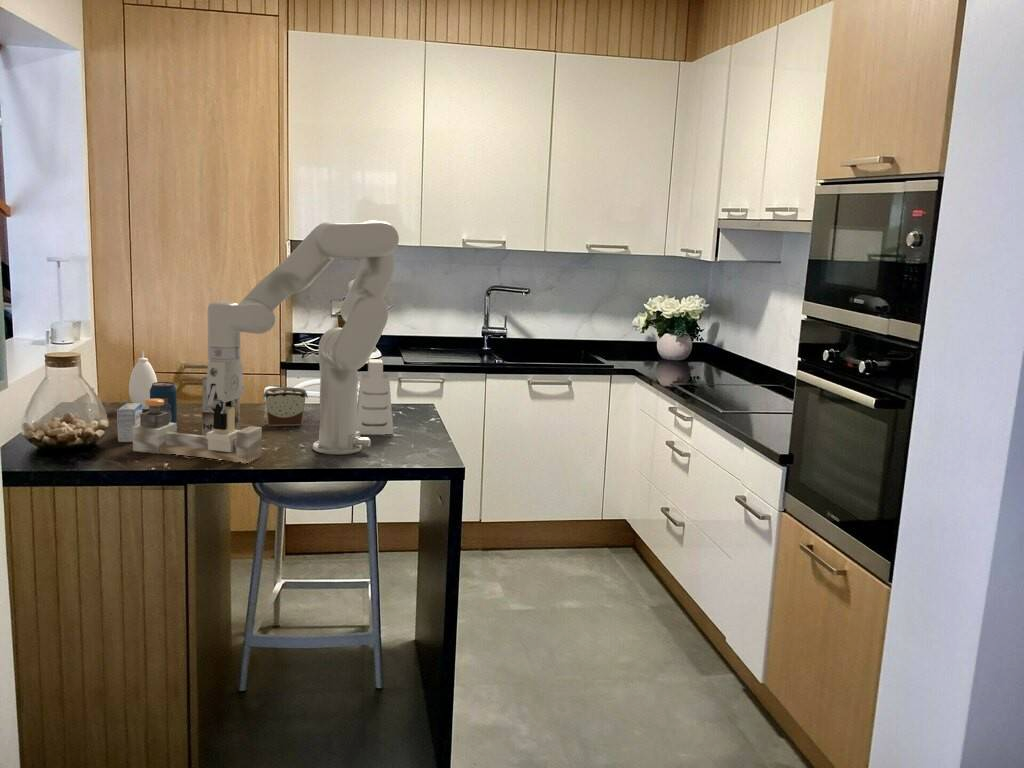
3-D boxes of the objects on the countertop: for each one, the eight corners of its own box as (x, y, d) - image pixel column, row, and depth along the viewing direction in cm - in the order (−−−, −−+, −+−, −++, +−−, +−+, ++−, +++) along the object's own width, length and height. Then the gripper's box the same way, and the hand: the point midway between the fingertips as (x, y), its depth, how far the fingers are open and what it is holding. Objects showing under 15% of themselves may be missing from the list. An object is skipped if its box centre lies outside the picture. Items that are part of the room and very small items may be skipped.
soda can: (164, 422, 255) (163, 380, 253) (182, 426, 252) (182, 383, 250) (144, 427, 249) (143, 383, 247) (163, 430, 246) (163, 387, 244)
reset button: (167, 414, 228) (167, 399, 228) (157, 417, 224) (157, 402, 223) (152, 412, 229) (151, 397, 228) (141, 416, 225) (141, 401, 224)
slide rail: (262, 456, 227) (262, 420, 225) (246, 464, 219) (247, 427, 217) (152, 443, 233) (151, 408, 231) (132, 450, 225) (132, 415, 223)
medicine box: (135, 442, 233) (135, 409, 231) (117, 442, 232) (116, 409, 230) (143, 435, 240) (142, 403, 239) (125, 435, 239) (124, 402, 238)
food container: (305, 420, 267) (305, 386, 266) (307, 425, 262) (307, 390, 260) (261, 420, 264) (261, 386, 262) (262, 425, 258) (263, 391, 256)
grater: (355, 434, 254) (357, 363, 251) (354, 425, 264) (356, 357, 261) (393, 434, 257) (395, 364, 253) (390, 425, 267) (392, 358, 263)
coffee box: (223, 441, 239) (223, 380, 236) (201, 438, 240) (201, 378, 237) (240, 433, 248) (241, 375, 245) (219, 431, 249) (219, 373, 246)
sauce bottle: (162, 410, 269) (162, 350, 266) (136, 413, 263) (135, 352, 260) (150, 405, 274) (149, 346, 271) (124, 408, 269) (123, 348, 265)
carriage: (241, 447, 226) (241, 406, 225) (229, 452, 221) (229, 411, 219) (219, 444, 228) (219, 404, 226) (206, 450, 222) (206, 408, 220)
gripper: (220, 359, 211) (220, 436, 215) (254, 350, 227) (254, 422, 230) (191, 356, 213) (191, 433, 216) (227, 347, 228) (227, 419, 232)
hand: (224, 426), depth 223 cm, fingers closed on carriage, 3 cm apart
